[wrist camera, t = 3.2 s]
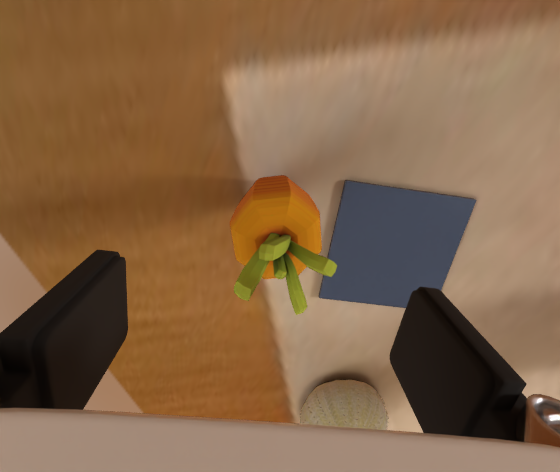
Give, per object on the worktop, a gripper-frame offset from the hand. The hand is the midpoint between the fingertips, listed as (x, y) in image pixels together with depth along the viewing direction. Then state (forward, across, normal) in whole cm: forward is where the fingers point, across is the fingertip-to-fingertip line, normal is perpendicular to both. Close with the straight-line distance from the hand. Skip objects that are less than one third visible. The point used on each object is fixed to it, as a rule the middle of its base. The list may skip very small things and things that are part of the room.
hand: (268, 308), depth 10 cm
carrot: (+17, -1, 0) cm, 17 cm away
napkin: (+16, -12, +4) cm, 21 cm away
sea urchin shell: (+17, -11, +23) cm, 30 cm away
